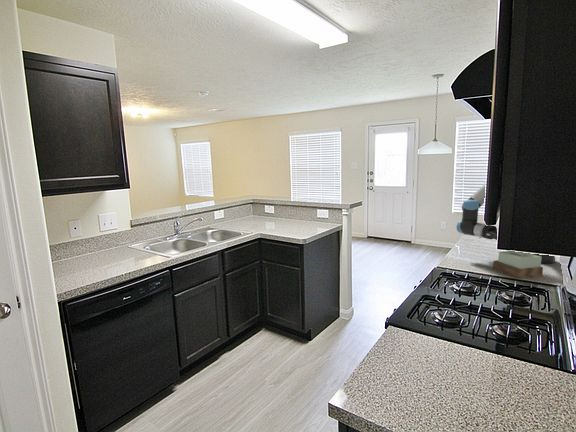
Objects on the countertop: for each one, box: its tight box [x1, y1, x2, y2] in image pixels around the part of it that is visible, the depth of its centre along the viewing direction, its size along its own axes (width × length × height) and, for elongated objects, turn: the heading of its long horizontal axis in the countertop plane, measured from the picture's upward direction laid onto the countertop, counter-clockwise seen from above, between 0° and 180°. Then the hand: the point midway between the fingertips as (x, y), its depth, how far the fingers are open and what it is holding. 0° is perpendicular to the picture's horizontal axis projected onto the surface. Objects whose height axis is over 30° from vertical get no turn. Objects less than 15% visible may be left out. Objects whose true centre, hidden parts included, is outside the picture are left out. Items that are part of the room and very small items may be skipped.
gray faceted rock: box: [509, 250, 525, 256], centre depth 156 cm, size 8×9×10 cm
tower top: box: [497, 250, 542, 269], centre depth 158 cm, size 12×12×5 cm
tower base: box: [492, 259, 544, 279], centre depth 159 cm, size 14×14×5 cm
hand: (529, 239), depth 153 cm, fingers open, 13 cm apart
